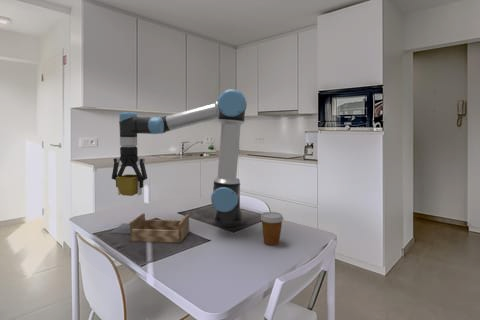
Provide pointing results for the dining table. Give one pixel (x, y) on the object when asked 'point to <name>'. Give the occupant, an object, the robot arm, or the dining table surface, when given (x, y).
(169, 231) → the crate
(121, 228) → the mat
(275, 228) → the disposable coffee cup
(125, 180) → the flower pot
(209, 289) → the dining table surface
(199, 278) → the dining table surface
